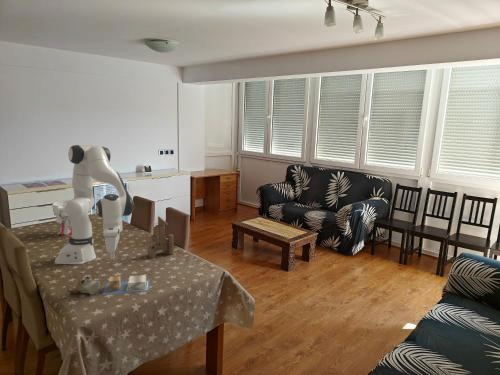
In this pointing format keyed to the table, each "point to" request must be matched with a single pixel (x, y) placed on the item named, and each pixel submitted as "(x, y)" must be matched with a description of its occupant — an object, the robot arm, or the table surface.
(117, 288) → the oak cube
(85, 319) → the table surface
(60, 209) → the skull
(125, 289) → the board
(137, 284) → the base block
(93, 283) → the ceramic sculpture
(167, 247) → the wooden toy
